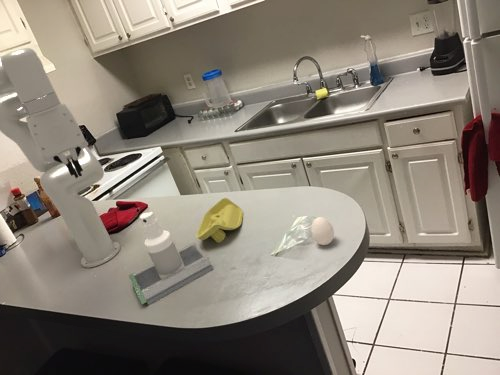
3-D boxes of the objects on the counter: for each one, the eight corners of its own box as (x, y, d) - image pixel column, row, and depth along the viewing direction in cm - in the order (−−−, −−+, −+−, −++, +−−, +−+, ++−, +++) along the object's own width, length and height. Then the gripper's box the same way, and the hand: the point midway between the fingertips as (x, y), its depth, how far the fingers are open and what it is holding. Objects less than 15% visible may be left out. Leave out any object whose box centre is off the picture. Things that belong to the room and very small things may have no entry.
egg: (332, 250, 102) (325, 224, 99) (312, 249, 104) (304, 224, 102) (339, 237, 106) (332, 211, 103) (319, 237, 108) (312, 212, 106)
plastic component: (204, 213, 137) (227, 194, 134) (221, 229, 138) (243, 210, 136) (193, 242, 118) (219, 220, 115) (212, 260, 120) (238, 239, 117)
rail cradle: (133, 286, 115) (128, 275, 113) (197, 252, 121) (193, 241, 119) (143, 307, 104) (138, 296, 103) (213, 269, 110) (208, 257, 109)
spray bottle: (156, 283, 111) (128, 224, 104) (166, 266, 116) (140, 209, 110) (180, 280, 108) (152, 219, 101) (189, 263, 114) (163, 205, 107)
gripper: (8, 118, 93) (48, 192, 100) (75, 94, 98) (110, 166, 105) (9, 115, 100) (47, 185, 107) (73, 92, 104) (105, 160, 111)
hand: (78, 175), depth 106 cm, fingers closed
